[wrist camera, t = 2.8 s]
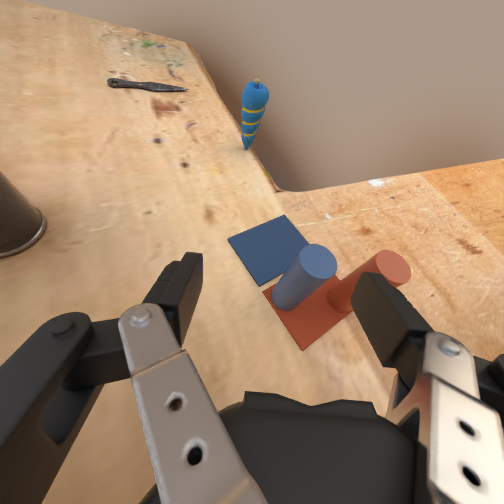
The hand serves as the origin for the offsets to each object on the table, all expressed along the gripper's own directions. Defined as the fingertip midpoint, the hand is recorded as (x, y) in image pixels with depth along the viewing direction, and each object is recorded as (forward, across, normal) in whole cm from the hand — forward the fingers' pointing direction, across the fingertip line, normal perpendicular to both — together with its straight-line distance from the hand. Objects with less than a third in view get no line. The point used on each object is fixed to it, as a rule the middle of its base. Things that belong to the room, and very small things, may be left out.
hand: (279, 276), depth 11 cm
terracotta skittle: (+18, -14, +16) cm, 28 cm away
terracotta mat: (+18, -10, +17) cm, 26 cm away
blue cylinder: (+17, -5, +16) cm, 24 cm away
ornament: (+48, +4, -1) cm, 49 cm away
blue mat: (+25, -3, +12) cm, 28 cm away
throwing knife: (+63, +32, -12) cm, 71 cm away
